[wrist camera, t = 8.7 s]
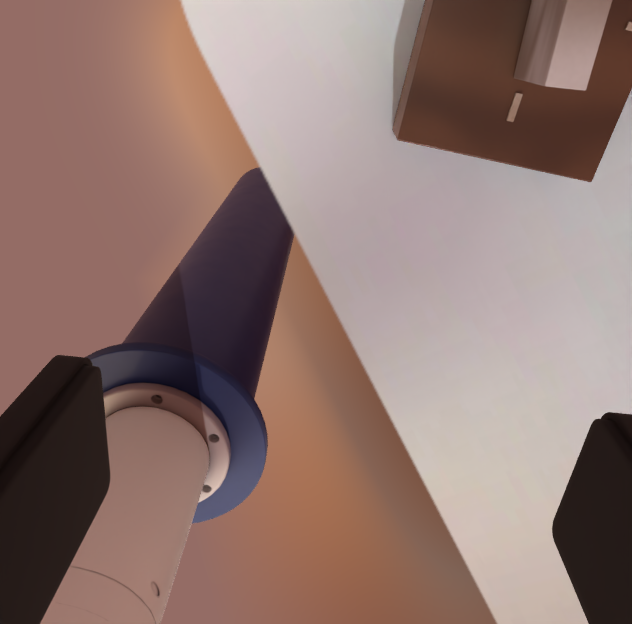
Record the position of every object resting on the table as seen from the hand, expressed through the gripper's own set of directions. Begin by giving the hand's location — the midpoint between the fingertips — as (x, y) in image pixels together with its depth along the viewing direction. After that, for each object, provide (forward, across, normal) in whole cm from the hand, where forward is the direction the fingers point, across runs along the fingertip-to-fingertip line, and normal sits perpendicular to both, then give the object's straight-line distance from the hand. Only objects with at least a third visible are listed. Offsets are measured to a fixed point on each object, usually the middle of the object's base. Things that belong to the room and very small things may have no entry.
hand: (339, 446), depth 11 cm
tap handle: (+23, -9, -9) cm, 26 cm away
